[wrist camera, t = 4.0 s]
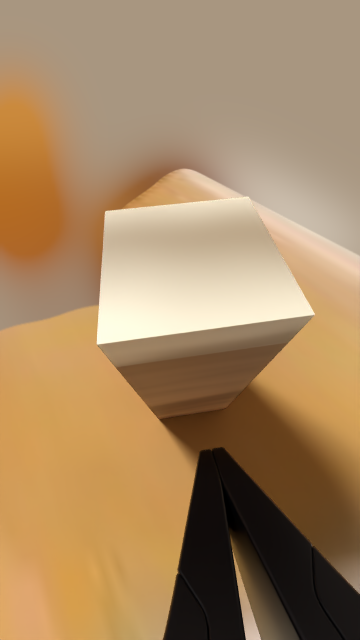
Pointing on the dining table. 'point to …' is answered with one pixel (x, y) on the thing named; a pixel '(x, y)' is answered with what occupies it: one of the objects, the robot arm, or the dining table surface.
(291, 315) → the cream and brown block
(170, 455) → the dining table surface
